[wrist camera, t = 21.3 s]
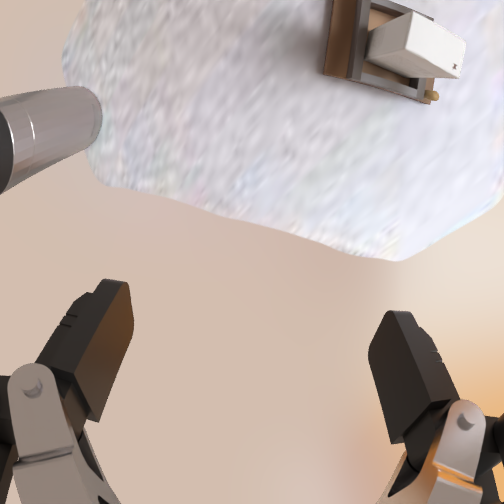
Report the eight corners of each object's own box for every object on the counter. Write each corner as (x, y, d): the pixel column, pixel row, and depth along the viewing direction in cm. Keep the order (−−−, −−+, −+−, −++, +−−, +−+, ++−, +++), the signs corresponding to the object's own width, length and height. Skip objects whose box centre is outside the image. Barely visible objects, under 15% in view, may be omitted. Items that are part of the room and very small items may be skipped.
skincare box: (412, 48, 27) (468, 41, 17) (405, 78, 29) (460, 81, 19) (367, 28, 27) (412, 8, 16) (360, 59, 29) (403, 50, 18)
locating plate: (323, 74, 31) (330, 72, 27) (333, -6, 25) (342, -16, 22) (426, 103, 31) (442, 107, 28) (436, 29, 26) (452, 26, 22)
